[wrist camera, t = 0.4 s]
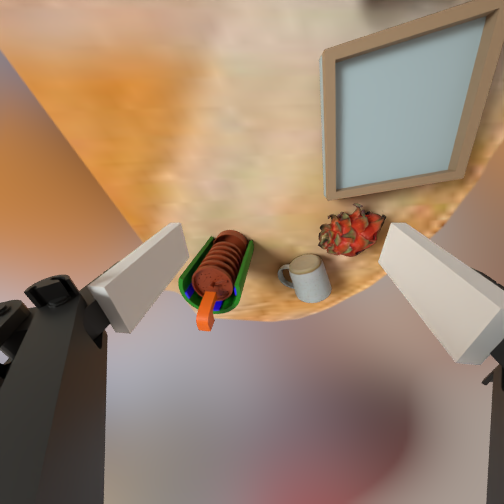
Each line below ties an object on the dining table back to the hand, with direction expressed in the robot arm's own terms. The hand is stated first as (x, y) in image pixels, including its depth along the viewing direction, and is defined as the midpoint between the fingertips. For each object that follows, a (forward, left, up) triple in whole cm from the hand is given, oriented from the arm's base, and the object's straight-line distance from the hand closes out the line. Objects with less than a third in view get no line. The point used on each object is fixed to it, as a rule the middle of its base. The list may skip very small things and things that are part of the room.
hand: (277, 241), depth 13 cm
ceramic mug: (+21, +2, -27) cm, 34 cm away
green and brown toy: (+13, -13, -27) cm, 32 cm away
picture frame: (-5, +16, -26) cm, 31 cm away
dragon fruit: (+11, +11, -27) cm, 31 cm away
